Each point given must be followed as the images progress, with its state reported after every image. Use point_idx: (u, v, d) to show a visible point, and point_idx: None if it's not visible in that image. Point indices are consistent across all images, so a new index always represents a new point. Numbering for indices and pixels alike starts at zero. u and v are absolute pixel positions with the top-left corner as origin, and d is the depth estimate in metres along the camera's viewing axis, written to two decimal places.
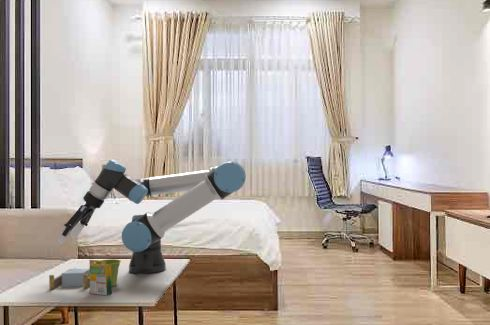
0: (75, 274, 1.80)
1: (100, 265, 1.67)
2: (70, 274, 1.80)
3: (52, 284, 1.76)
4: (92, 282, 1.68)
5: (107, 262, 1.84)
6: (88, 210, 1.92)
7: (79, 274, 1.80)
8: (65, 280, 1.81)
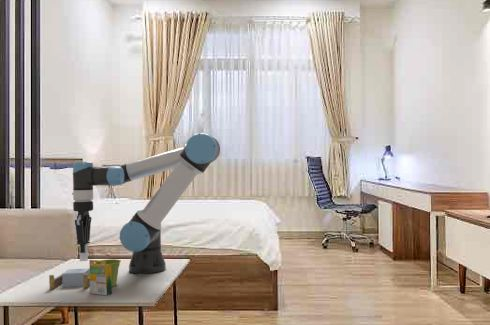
0: (76, 274, 1.81)
1: (100, 265, 1.67)
2: (71, 274, 1.80)
3: (52, 284, 1.76)
4: (92, 282, 1.68)
5: (107, 262, 1.84)
6: (84, 218, 1.92)
7: (80, 274, 1.81)
8: (65, 280, 1.80)
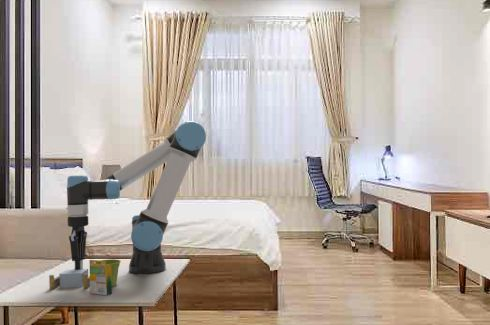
0: (73, 274, 1.79)
1: (100, 265, 1.67)
2: (68, 274, 1.79)
3: (52, 284, 1.76)
4: (92, 282, 1.68)
5: (107, 262, 1.84)
6: (79, 233, 1.86)
7: (77, 274, 1.79)
8: (62, 280, 1.79)
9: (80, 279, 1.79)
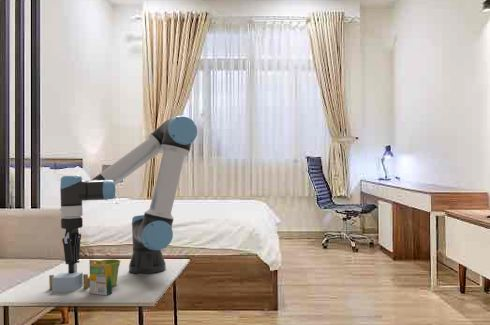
0: (66, 278, 1.73)
1: (100, 265, 1.67)
2: (60, 278, 1.73)
3: None
4: (92, 282, 1.68)
5: (107, 262, 1.84)
6: (73, 236, 1.80)
7: (70, 278, 1.73)
8: (55, 284, 1.73)
9: (73, 283, 1.73)
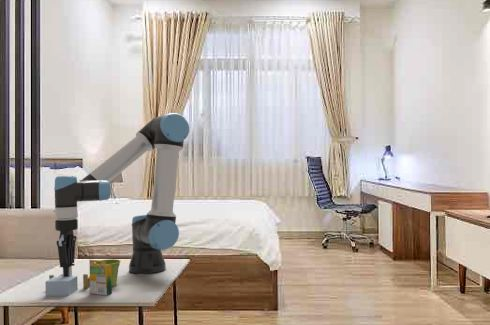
0: (60, 282, 1.67)
1: (100, 265, 1.67)
2: (54, 282, 1.67)
3: None
4: (92, 282, 1.68)
5: (107, 262, 1.84)
6: (67, 238, 1.74)
7: (64, 282, 1.67)
8: (48, 288, 1.67)
9: (67, 287, 1.67)
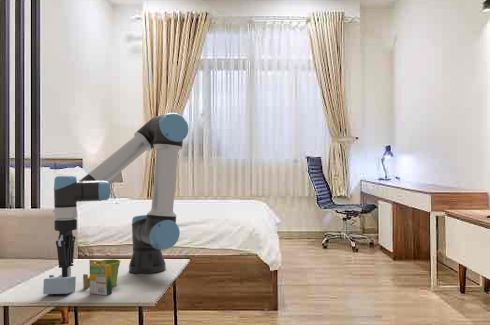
0: (58, 280, 1.66)
1: (100, 265, 1.67)
2: (53, 280, 1.66)
3: None
4: (92, 282, 1.68)
5: (107, 262, 1.84)
6: (67, 238, 1.73)
7: (62, 280, 1.66)
8: (46, 286, 1.66)
9: (65, 285, 1.66)
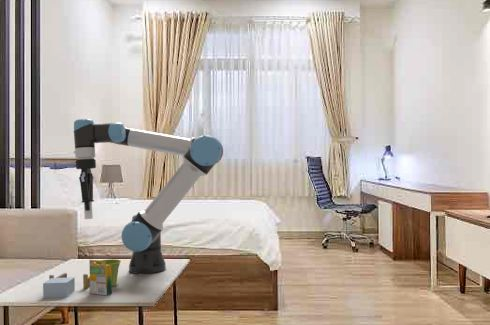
0: (58, 284, 1.65)
1: (100, 265, 1.67)
2: (52, 284, 1.65)
3: None
4: (92, 282, 1.68)
5: (107, 262, 1.84)
6: (88, 175, 1.92)
7: (62, 284, 1.65)
8: (46, 290, 1.65)
9: (65, 289, 1.65)
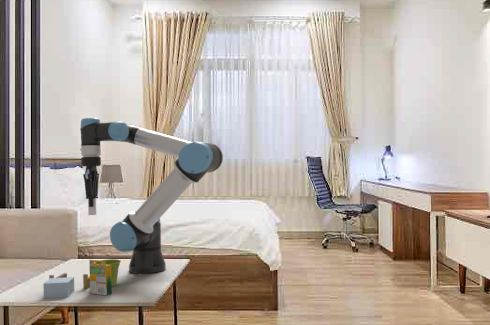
0: (59, 284, 1.65)
1: (100, 265, 1.67)
2: (53, 284, 1.65)
3: None
4: (92, 282, 1.68)
5: (107, 262, 1.84)
6: (92, 173, 1.97)
7: (63, 284, 1.65)
8: (47, 290, 1.65)
9: (66, 289, 1.65)
